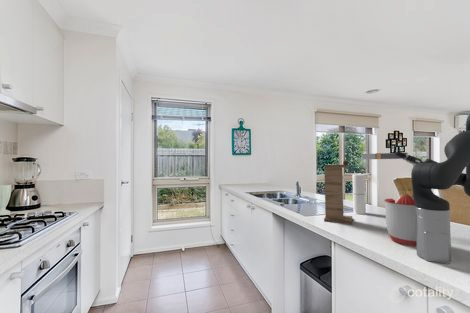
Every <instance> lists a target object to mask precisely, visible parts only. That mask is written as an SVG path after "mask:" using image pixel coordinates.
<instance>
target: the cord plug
mask: <svg viewBox="0 0 470 313" xmlns="http://www.w3.org/2000/svg"><path fill="white" fill-rule="evenodd" d="M403 153H404V154H408V152H403ZM361 155H362V156H361V158H362V160H397V159H399V160H403V159H404V158H402V157H399V156H397V155H396V152H391V153H390V152H387V153H386V152H385V153H383V152H382V153H381V152H376V153H362V154H361ZM408 155H409V154H408Z"/></svg>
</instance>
